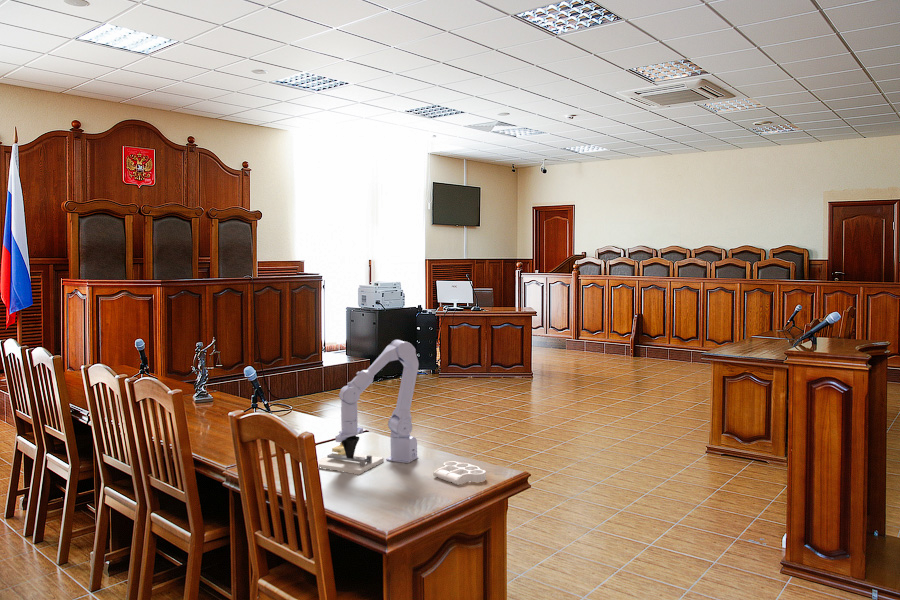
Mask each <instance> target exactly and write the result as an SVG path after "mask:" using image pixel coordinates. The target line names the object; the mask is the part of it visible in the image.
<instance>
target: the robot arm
mask: <svg viewBox="0 0 900 600" xmlns="http://www.w3.org/2000/svg"><path fill="white" fill-rule="evenodd" d="M416 351H417V350H416V348H415V346H414V345H413V344H412V343H410V342H408V341H405V340H404V341H403V340H401V339H394V340H392V341H391V343H389V344H388V345H387V346H386V347H385V348H384V349H383V351H382V352H381V354H379V355H378V357H376V359H375V360H374V361H373V362H372V364H371V365H369V367H367V369H362V370H361V371H357V372H356V373H355V374H356V376H354V377H353V378H352V380H350V381H348V382H347V383H346V384H347V385H344V386H343V387H341V389H340V390H339V393H338V397H339V399H340V401H341V402H340V403H341V405H340V406H341V407H340V412H341V413H340V418H341V421H340V422H341V423H340V424H341V427H340V428H341V430H339V431H338V433H339V434H337V435H335V442H336V443H342V445H343V447H344V450H345V453H346V457H347V458H352V457H353V456H354V454H355V453H356V447H357V444H358V443H359V440H360V436H358V435H359V434H363V433H364V428H363V427H361V426H360V427H358V426H359V425H358V424H359V423H358V421H359V420H358V401H359V400H360V398H361V394H363V392H364V391H365V390H366V389H367V388H368V387H369V386H370V385H371V384H372V383H373V382H374V376H375V375H377V374H378V372H380V371H381V370H382V369H383V368H384V367H385V366H387V364H388V363H390V362H394V361H399V362H400V363H401V364H402V366H403V370H402V375H401V380H400V384H399V385H400V386H399V390H398V396H397V401H396V405H395V406H396V407H395V408H394V410H393V411H392V413H391V417H390V418H389V419H388V422H387V426H388V429H389V430H390V434H389V435H390V437H389V438H390V456H389V457H387V458H386V459H385V460H386V461H389V462H398V463H404V464H409V463H411V462H413V461H414V460H416V459H418V458H419V456H418V440H417V437H415V436H412V435H411V433H412V431H413V424H412V423H413V422H412V418H413V416H412V413H411V407H412V402H413V397H414V392H415V387H416V381H417V376H418V371H419V365H420V363H419V360H418V356H417V352H416Z"/></svg>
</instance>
